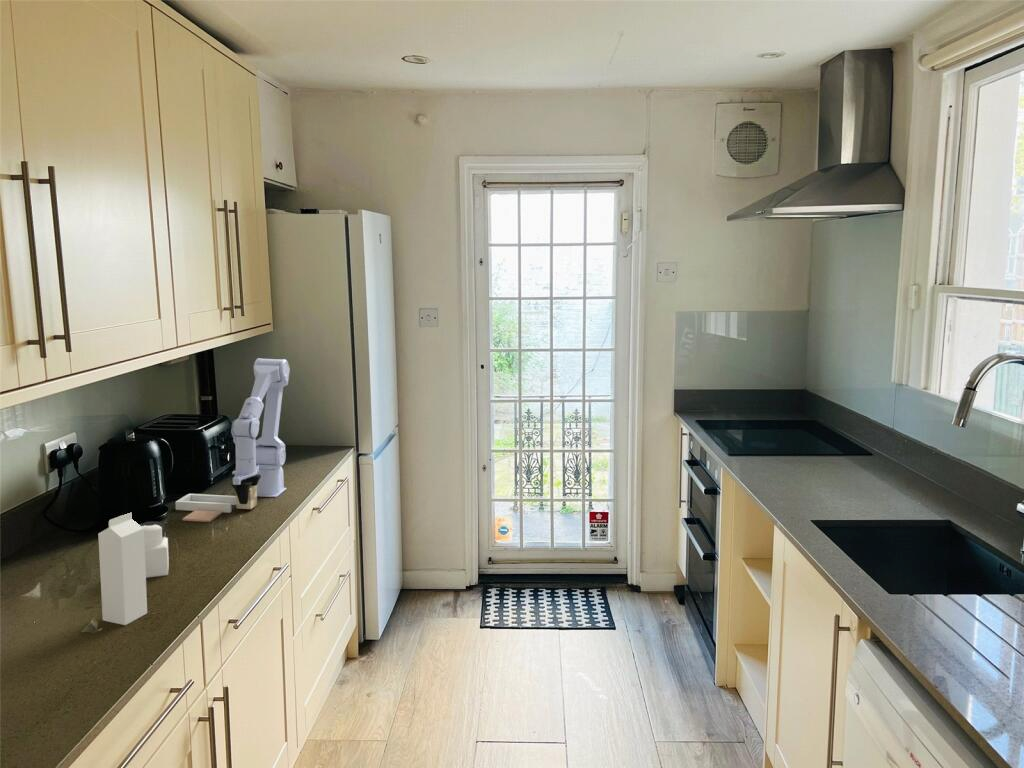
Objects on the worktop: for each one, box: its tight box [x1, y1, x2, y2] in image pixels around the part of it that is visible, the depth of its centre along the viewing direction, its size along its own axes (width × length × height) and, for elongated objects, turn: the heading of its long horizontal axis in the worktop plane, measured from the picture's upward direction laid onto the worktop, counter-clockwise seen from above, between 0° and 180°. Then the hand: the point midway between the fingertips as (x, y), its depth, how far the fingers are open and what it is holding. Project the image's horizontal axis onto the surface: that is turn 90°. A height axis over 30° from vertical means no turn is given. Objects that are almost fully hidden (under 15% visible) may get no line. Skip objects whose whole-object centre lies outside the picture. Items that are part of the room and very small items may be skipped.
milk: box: [97, 512, 148, 626], centre depth 155 cm, size 6×6×22 cm
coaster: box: [182, 510, 223, 523], centre depth 220 cm, size 8×8×1 cm
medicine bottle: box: [139, 520, 170, 579], centre depth 179 cm, size 7×7×12 cm
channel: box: [175, 493, 237, 513], centre depth 229 cm, size 8×17×2 cm, turn 86°
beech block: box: [235, 485, 258, 510], centre depth 228 cm, size 4×4×6 cm
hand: (246, 501), depth 228 cm, fingers closed on beech block, 4 cm apart
